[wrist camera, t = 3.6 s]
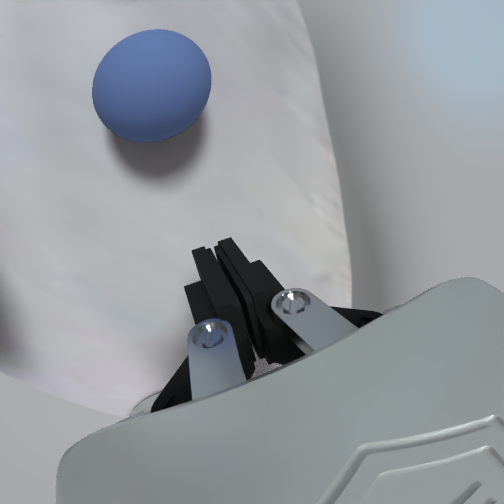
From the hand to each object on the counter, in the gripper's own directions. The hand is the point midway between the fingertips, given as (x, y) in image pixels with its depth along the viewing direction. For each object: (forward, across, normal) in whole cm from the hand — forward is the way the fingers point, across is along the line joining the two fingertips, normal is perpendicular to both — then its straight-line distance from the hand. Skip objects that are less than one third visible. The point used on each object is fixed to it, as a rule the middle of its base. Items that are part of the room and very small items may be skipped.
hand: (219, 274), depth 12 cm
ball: (+5, 0, -8) cm, 10 cm away
